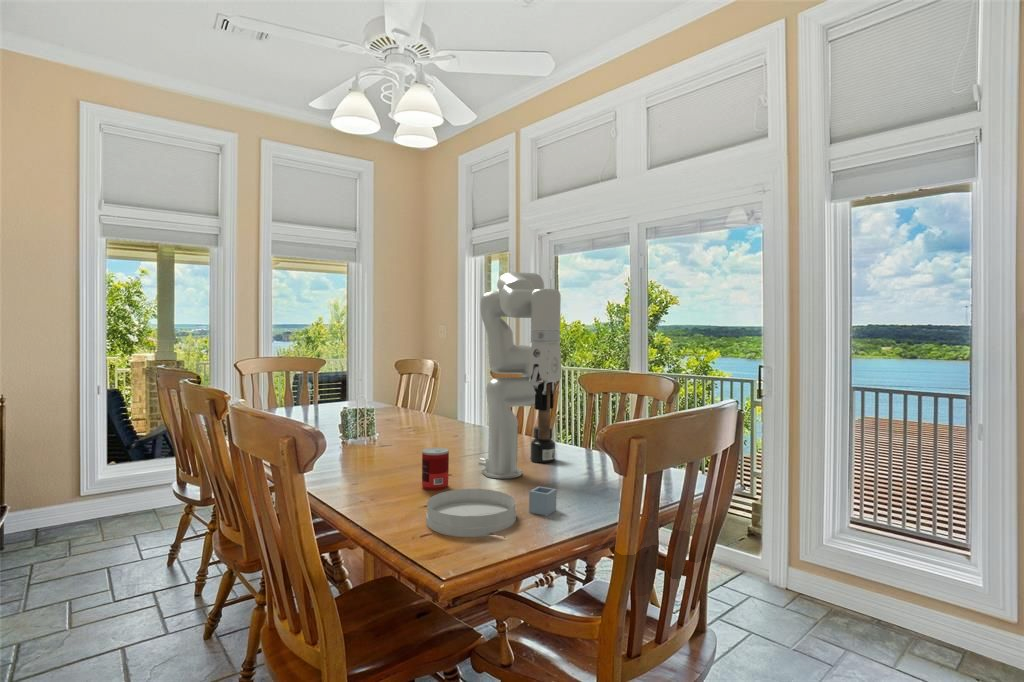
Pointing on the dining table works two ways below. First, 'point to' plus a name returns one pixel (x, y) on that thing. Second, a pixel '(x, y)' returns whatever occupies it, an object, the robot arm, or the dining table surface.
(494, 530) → the dish
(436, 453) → the canned food
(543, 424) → the dowel
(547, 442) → the ink bottle
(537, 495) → the cup
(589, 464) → the dining table surface
